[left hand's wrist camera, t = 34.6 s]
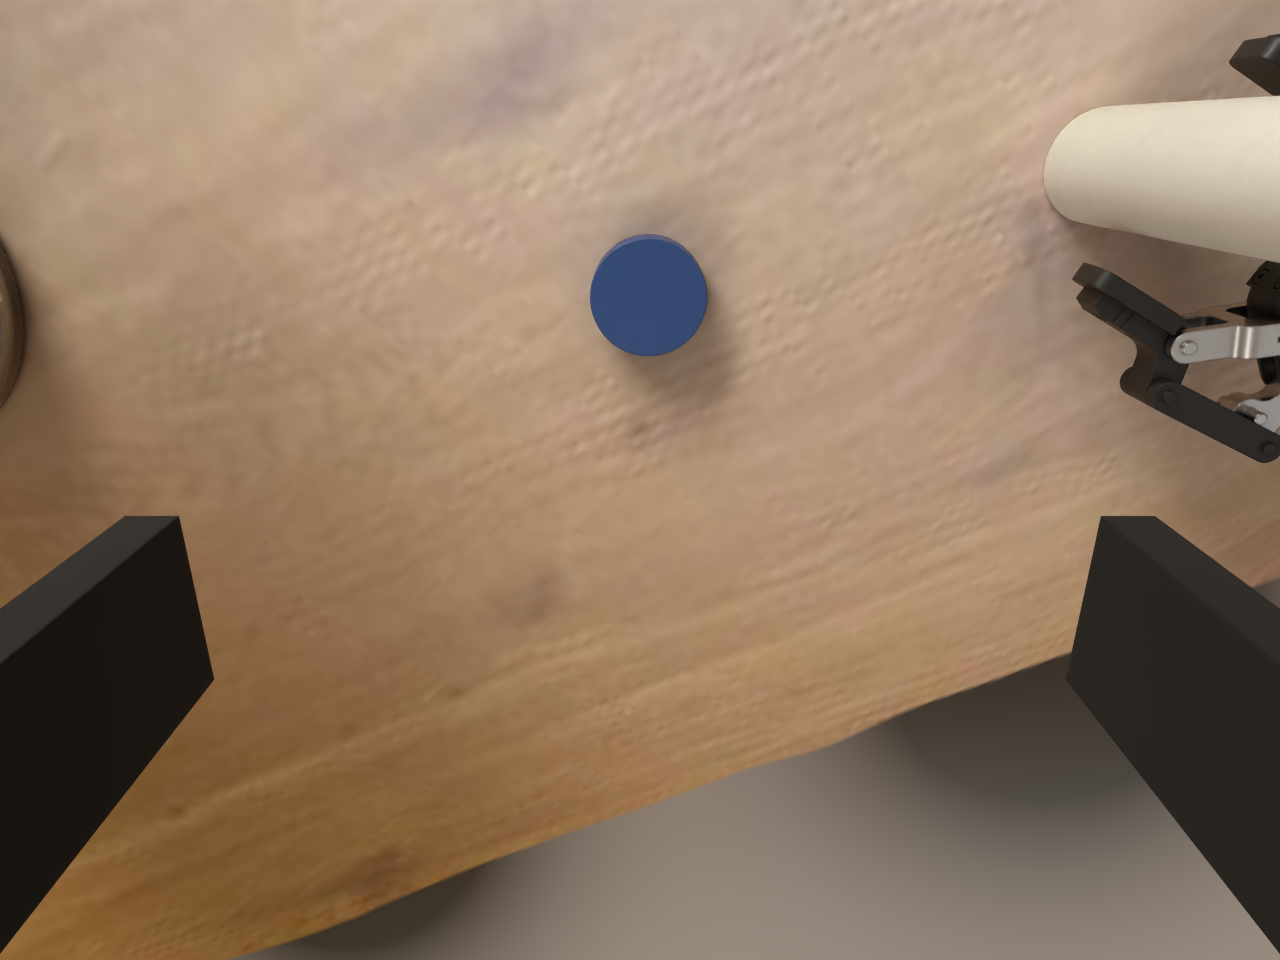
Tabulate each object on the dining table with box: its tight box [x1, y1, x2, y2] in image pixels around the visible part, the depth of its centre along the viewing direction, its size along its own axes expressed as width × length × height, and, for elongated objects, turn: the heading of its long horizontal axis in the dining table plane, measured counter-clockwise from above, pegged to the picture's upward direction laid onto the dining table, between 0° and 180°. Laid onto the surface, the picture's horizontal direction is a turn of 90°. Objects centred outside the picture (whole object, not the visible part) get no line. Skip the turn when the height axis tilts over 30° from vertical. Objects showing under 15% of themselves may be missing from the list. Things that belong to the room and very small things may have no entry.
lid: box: [590, 234, 707, 356], centre depth 37 cm, size 5×5×2 cm
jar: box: [1044, 96, 1280, 263], centre depth 29 cm, size 5×5×16 cm
